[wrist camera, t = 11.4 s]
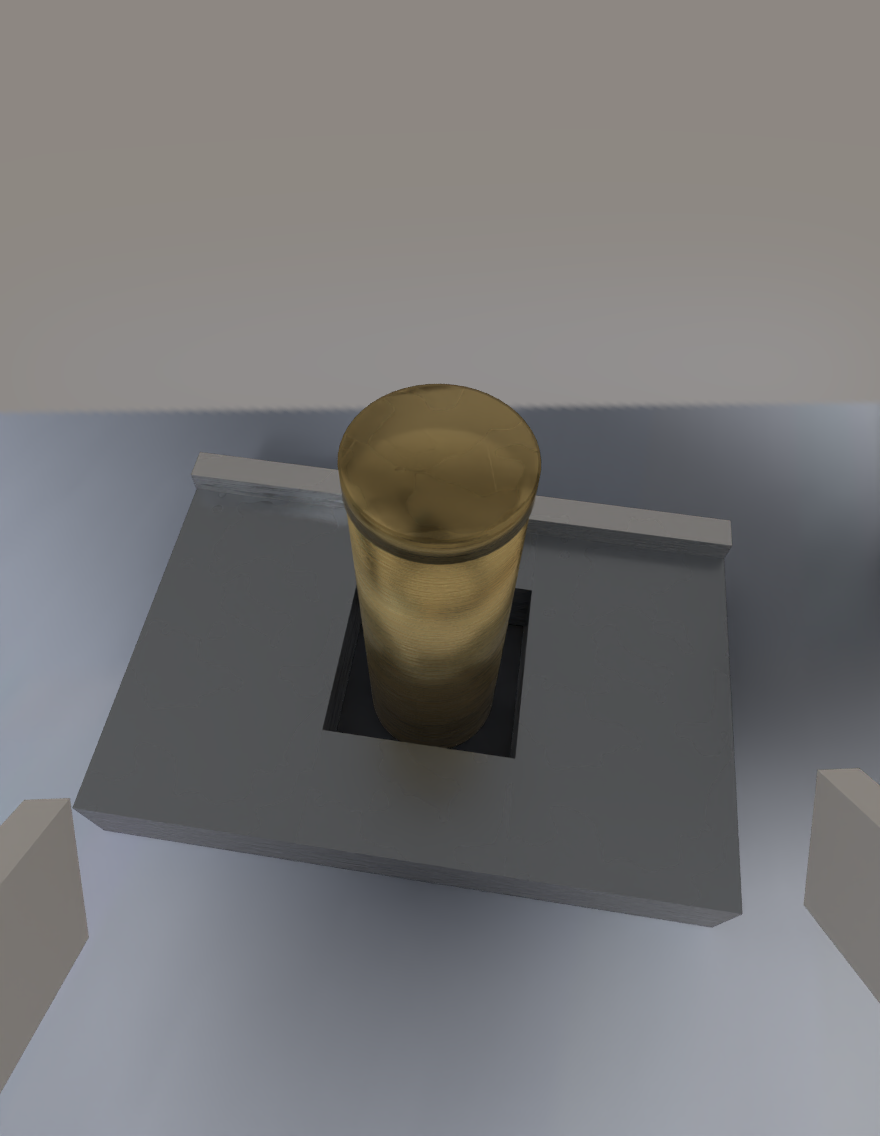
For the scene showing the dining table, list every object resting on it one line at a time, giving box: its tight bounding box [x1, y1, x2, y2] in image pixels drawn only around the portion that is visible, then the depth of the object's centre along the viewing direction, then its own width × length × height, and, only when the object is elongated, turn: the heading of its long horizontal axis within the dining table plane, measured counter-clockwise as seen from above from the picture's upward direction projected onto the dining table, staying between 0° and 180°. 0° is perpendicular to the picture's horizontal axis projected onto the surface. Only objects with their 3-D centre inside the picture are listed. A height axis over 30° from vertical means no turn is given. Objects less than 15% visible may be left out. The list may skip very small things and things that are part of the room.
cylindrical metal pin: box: [338, 384, 541, 749], centre depth 21 cm, size 4×4×12 cm
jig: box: [73, 452, 742, 927], centre depth 25 cm, size 18×12×3 cm, turn 82°
